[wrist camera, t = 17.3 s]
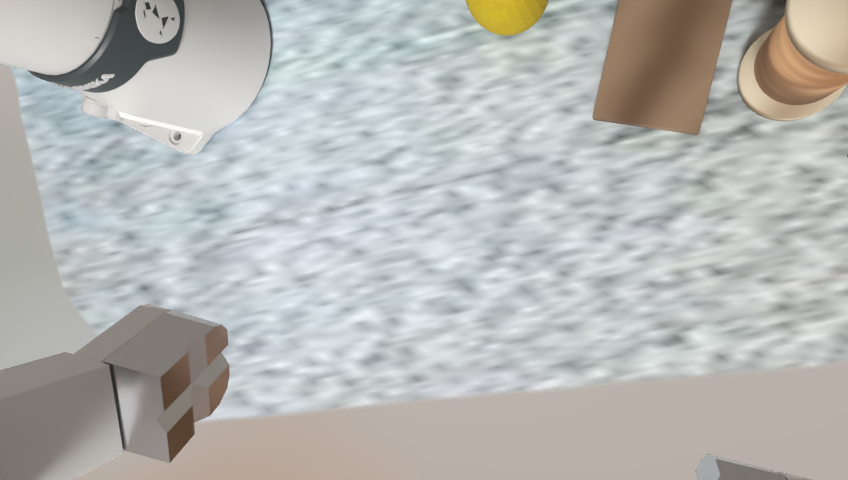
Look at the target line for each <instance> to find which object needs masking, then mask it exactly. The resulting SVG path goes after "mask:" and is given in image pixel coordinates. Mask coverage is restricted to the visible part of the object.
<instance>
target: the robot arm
mask: <svg viewBox="0 0 848 480" xmlns="http://www.w3.org/2000/svg"><path fill="white" fill-rule="evenodd" d="M270 48H271V39H270V29H269V23H268V19H267V15H266V12H265V10H264V7H263V5H262V3H261V1H260V0H0V64H3V65H8V66H12V67H17V68H21V69H25V70H28V71H29V72H30V73H31V74H33V75H34V76H36V77H38V78H40V79H43V80H46V81H49V82H50V83H53V84H55V85H58V86H61V87H65V88H69V89H74V90H77V91H79V92H81V95H82V98H83V102H82V106H81V109H82V112H84V113H87V114H90V115H93V116H96V117H100V118H105V119H109V118H110V119H113V120H117V121H119V122H121V123H123V124H126V125H128V126H130V127H132V128H134V129H136V130H138V131H140V132H142V133H144V134H146V135H148V136H150V137H152V138H154V139H156V140H158V141H160V142H162V143H164V144H166V145H168V146H170V147H172V148H174V149H176V150H178V151H180V152H183V153H186V154H190V155H195V154H197V153H198V152H200V151H201V150H202V149H203V147H204V146H205V145H206V144H207V142H208V141H209V140H210V138H211V137H212V135H213V134H214V133H215V132H217V131H218V130H220V129H221V128H223V127H225V126H227V125H228V124H230V123H232V122H233V121H235V120H236V119H237V118H238V117H240V116H241V115H242V114H243V113H244V112H245V111H246V110H247V109H248V107H249V106H250V105H251V103H252V102H253V101H254V99H255V98H256V96H257V94H258V92H259V90H260V88H261V86H262V84H263V81H264V79H265V76H266V73H267V69H268V64H269V58H270ZM180 135H181V138H180ZM227 345H228V335H227V329H226V328H225V327H224V326H222V325H221V324H218V323H214V322H211V321H207V320H204V319H201V318H197V317H194V316H190V315H187V314H183V313H180V312H177V311H171V310H168V309H164V308H161V307H158V306H154V305H151V304H146V305H140V306H139V307H137V308H136V309H134V310H133V311H132V312H130V313H129V314H128V315H126V316H125V317H124V318H122V319H121V320H119V321H118V322H117V323H115V324H114V325H113V326H111V327H110V328H108V329H107V330H106V331H104V332H103V333H102V334H100V335H99V336H98V337H96V338H95V339H94V340H92V341H91V342H89V343H88V344H87V345H85V346H84V347H83V348H81V349H80V350H78V351H77V352H76V353H74V354H71V353H67V352H64V353H60V354H57V355H53V356H50V357H46V358H42V359H39V360H35V361H32V362H28V363H25V364H21V365H18V366H14V367H11V368H7V369H4V370H0V480H74V479H75V478H77V477H79V476H81V475H83V474H85V473H87V472H89V471H90V470H92V469H94V468H96V467H98V466H100V465H102V464H104V463H106V462H107V461H109V460H111V459H113V458H115V457H117V456H119V455H121V454H123V452H124V451H123V450H125V451H129V452H132V453H136V454H139V455H143V456H147V457H150V458H154V459H157V460H161V461H164V462H168V463H170V462H171V461H172V460H173V459H174V458H175V457H176V455H177V454H178V453H179V452H180V451H181V450H182V448H183V447H184V446H185V445H186V444H187V442H188V441H189V440H190V439H191V438H192V437H193V435H194V434H195V429H194V422H196V421H199V420H201V419H203V418H206V417H208V416H210V415H211V414H212V413H213V411H214V410H215V409H216V408H217V406H218V405H219V404H220V402H221V400H222V398H223V396H224V394H225V391H226V389H227V386H228V380H229V364H228V362H227V361H226V359H225V358H224V356H223V355H222V353H221V352H222V351H223V350H224V349H225V347H226V346H227ZM696 476H697V480H811V479H807V478H803V477H799V476H794V475H791V474H787V473H782V472H775V471H772V470H768V469H764V468H761V467H757V466H753V465H749V464H745V463H741V462H737V461H734V460H730V459H726V458H722V457H718V456H714V455H710V454H707V455H706V456H705V457H704V458H702V460H701V461H700V463H699V465H698V467H697V469H696Z"/></svg>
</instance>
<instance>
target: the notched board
mask: <svg viewBox="0 0 848 480" xmlns="http://www.w3.org/2000/svg"><path fill="white" fill-rule="evenodd" d="M731 3H732V0H619V3H618V8H617V12H616V16H615V21H614V25H613V29H612V34H611V38H610V43H609V47H608V51H607V56H606V60H605V64H604V69H603V73H602V78H601V82H600V86H599V91H598V95H597V99H596V104H595V108H594V112H593V120H598V121H605V122H612V123H618V124H625V125H632V126H639V127H646V128H653V129H660V130H667V131H674V132H681V133H687V134H694V135H697V134H698V133H699V131H700V127H701V123H702V119H703V115H704V111H705V107H706V103H707V99H708V95H709V91H710V87H711V83H712V79H713V75H714V71H715V67H716V63H717V59H718V55H719V51H720V47H721V43H722V39H723V35H724V31H725V27H726V23H727V19H728V15H729V11H730V7H731ZM847 157H848V156H847Z"/></svg>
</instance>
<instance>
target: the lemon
mask: <svg viewBox="0 0 848 480" xmlns="http://www.w3.org/2000/svg"><path fill="white" fill-rule="evenodd" d="M466 3H467V5H468V8H469V10H470V12H471V14H472V16H473V17H474V18H475V19H476V21H477V22H478V23H479V24H480V25H481V26H482V27H484V28H485V29H487V30H488V31H490V32H493V33H496V34H498V35H514V34H519V33H521V32H523V31H525V30H528V29H529V28H530V27H531V26H533V25H534V24H535V23H536V22H537V21H538V20H539V18H540V17H541V16H542V14H543V12H544V10H545V8H546V6H547V3H548V0H466Z"/></svg>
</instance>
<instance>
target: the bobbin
mask: <svg viewBox="0 0 848 480" xmlns="http://www.w3.org/2000/svg"><path fill="white" fill-rule="evenodd" d="M847 84H848V0H786V6H785V14H784V16H783V17H782V18H781V20H780V21H779V22H778V24H777V25H776V27H774V28H772V29H770V30H769V31H767V32H765V33H764V34H763V35H761V36H760V37H759V38H758V39H757V40H756V41H755V42H754V43H753V44H752V45H751V46H750V48H749V49H748V51H747V52H746V54H745V55H744V57H743V58H742V61H741V63H740V65H739V68H738V73H737V87H738V91H739V94H740V96H741V98H742V100H743V101H744V103H745V104H746V105H747V106H748V107H749V108H750V109H751V110H752V111H753V112H755V113H756V114H758V115H760V116H762V117H764V118H768V119H771V120H776V121H793V120H799V119H803V118H806V117H808V116H811V115H813V114H815V113H817V112H819V111H820V110H822V109H824V108H825V107H827V106H828V105H830V104H831V103H832V102H833V101H835V100H836V99H837V98H838V96H839V95H840V94H841V93H842V92H843V90H844V89H845V87H846V85H847Z"/></svg>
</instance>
